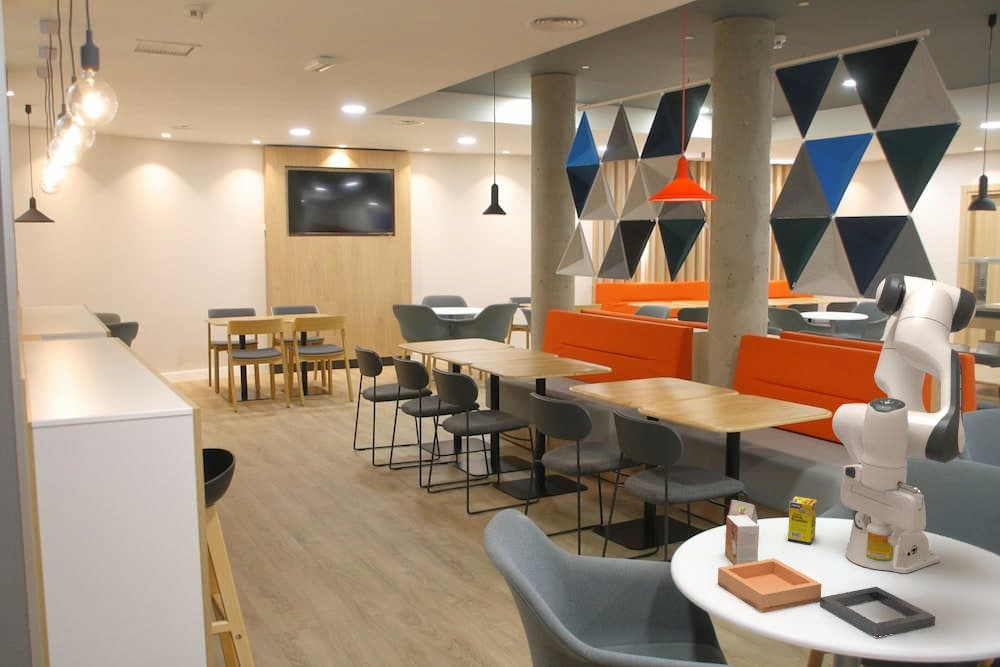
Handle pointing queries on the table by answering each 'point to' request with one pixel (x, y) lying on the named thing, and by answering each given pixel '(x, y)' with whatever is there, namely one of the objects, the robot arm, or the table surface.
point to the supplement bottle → (878, 542)
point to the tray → (769, 584)
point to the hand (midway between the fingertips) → (879, 539)
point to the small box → (741, 539)
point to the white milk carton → (743, 510)
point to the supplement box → (802, 520)
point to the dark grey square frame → (915, 615)
